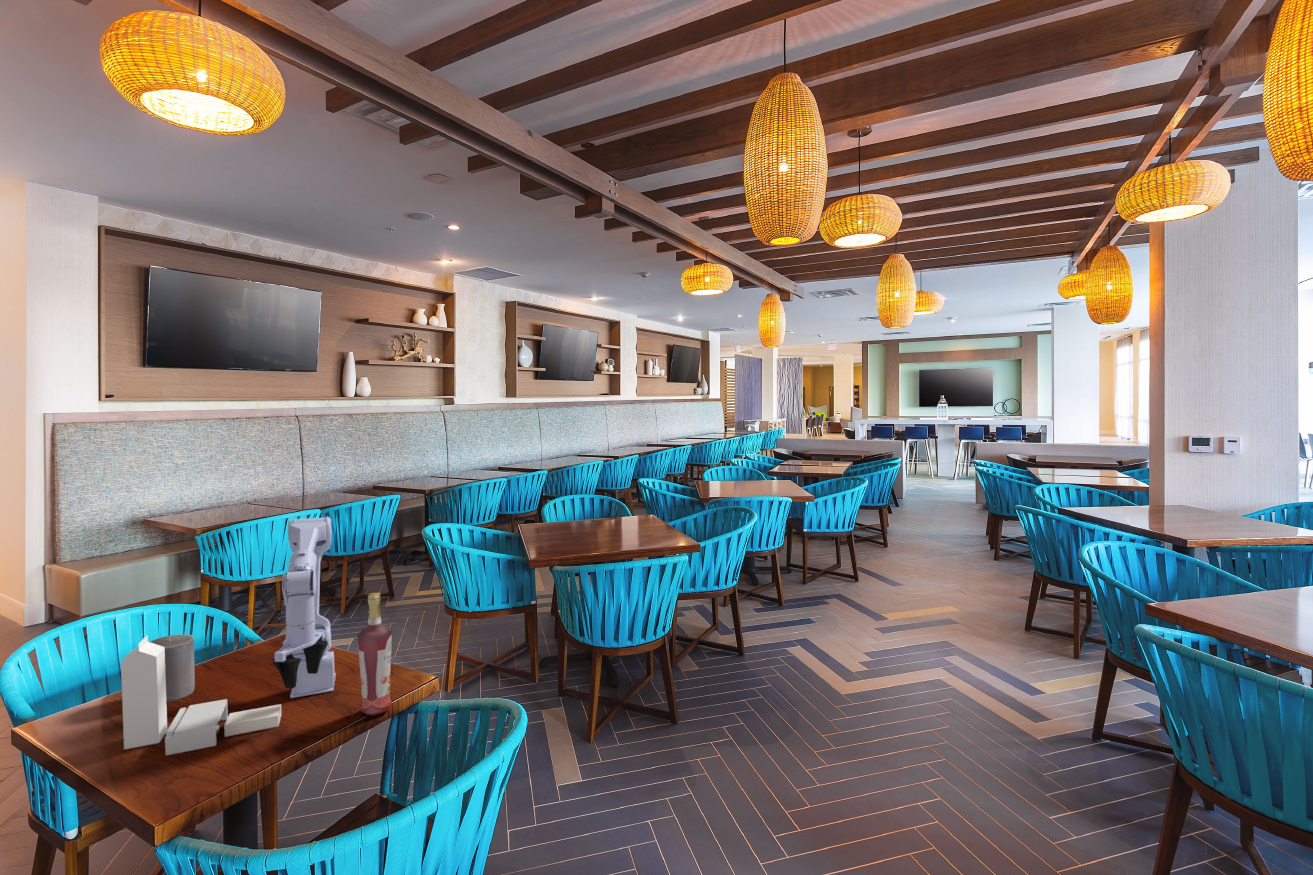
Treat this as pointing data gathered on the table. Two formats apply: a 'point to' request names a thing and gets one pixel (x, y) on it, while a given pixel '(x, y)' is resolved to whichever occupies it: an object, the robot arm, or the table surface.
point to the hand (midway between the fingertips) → (301, 679)
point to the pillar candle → (178, 665)
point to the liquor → (375, 661)
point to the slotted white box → (195, 727)
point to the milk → (144, 695)
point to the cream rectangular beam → (252, 720)
